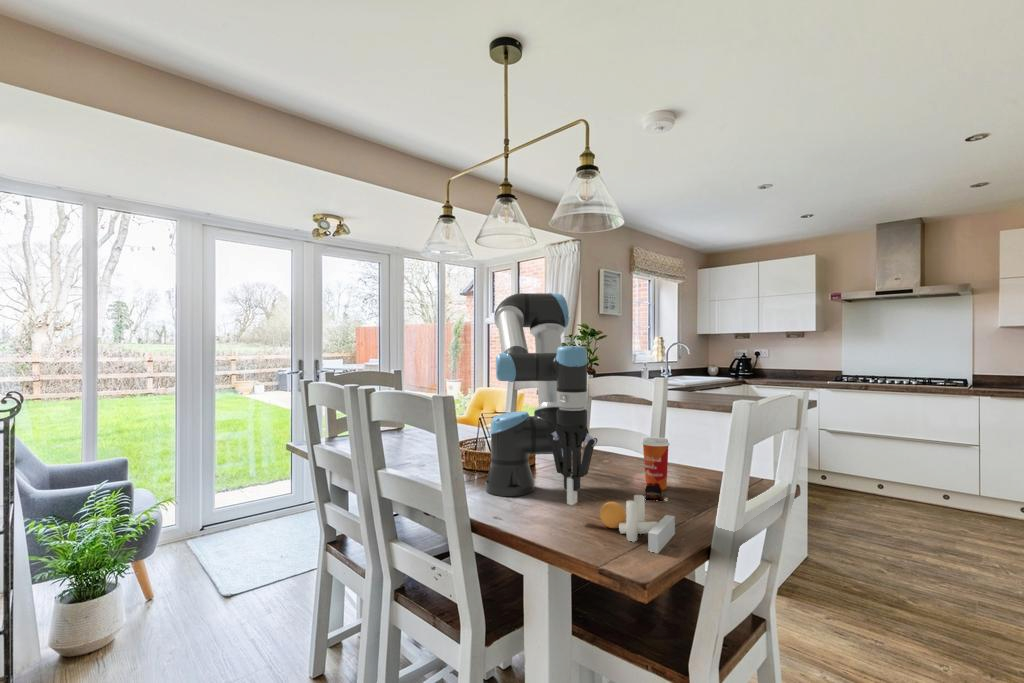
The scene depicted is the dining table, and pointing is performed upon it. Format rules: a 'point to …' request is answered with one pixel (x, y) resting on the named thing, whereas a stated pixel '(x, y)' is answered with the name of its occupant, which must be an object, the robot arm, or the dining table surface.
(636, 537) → the pin
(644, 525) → the front pin
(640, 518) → the pin
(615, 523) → the ball
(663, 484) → the coffee cup
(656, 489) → the dark piece
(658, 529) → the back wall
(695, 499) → the dining table surface
